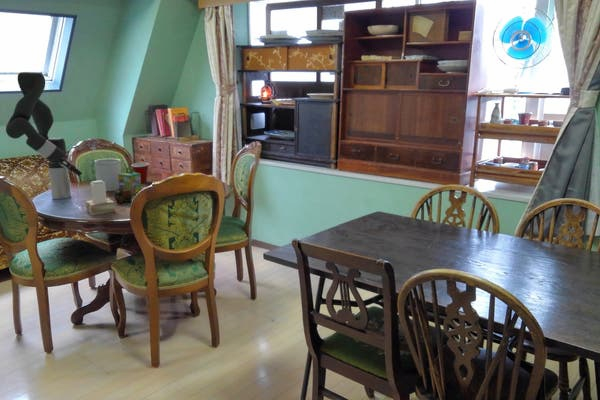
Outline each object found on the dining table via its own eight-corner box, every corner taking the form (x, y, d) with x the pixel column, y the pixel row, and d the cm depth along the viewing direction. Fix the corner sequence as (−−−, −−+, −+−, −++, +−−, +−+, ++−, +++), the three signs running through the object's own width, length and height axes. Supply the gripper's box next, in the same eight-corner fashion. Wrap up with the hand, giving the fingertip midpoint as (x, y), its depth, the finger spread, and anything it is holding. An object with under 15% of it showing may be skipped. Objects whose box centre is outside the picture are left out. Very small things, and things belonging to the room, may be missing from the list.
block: (86, 210, 252) (85, 200, 250) (109, 207, 258) (108, 197, 256) (91, 215, 243) (90, 205, 242) (115, 211, 249) (114, 201, 248)
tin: (92, 201, 250) (90, 181, 247) (103, 199, 253) (101, 179, 250) (95, 203, 245) (93, 182, 243) (106, 201, 248) (104, 181, 246)
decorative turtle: (122, 205, 261) (120, 190, 259) (109, 203, 271) (106, 188, 269) (139, 201, 268) (137, 187, 266) (125, 199, 278) (123, 184, 276)
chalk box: (118, 194, 288) (116, 168, 284) (129, 190, 296) (127, 166, 292) (131, 195, 284) (129, 169, 281) (142, 192, 293) (140, 167, 289)
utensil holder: (128, 188, 303) (126, 159, 299) (107, 192, 291) (104, 162, 287) (112, 185, 311) (110, 157, 307) (91, 189, 299) (88, 160, 295)
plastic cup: (129, 183, 317) (127, 164, 314) (139, 180, 327) (137, 162, 324) (143, 184, 314) (142, 165, 311) (153, 181, 324) (152, 162, 321)
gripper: (58, 147, 227) (87, 169, 236) (52, 143, 239) (80, 165, 248) (46, 159, 226) (76, 181, 235) (41, 155, 237) (70, 176, 246)
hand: (78, 173), depth 241 cm, fingers open, 8 cm apart
